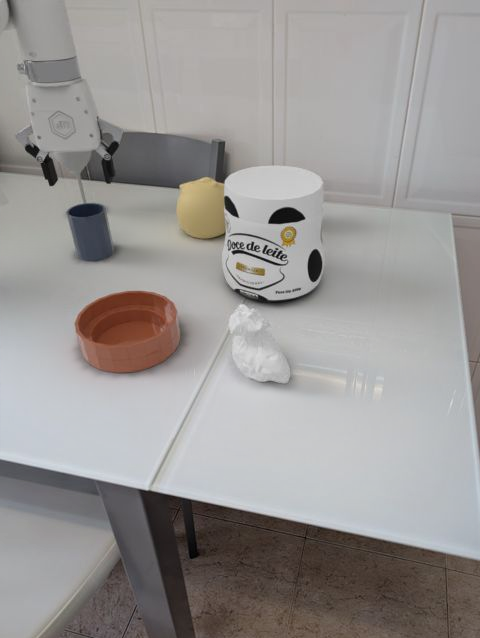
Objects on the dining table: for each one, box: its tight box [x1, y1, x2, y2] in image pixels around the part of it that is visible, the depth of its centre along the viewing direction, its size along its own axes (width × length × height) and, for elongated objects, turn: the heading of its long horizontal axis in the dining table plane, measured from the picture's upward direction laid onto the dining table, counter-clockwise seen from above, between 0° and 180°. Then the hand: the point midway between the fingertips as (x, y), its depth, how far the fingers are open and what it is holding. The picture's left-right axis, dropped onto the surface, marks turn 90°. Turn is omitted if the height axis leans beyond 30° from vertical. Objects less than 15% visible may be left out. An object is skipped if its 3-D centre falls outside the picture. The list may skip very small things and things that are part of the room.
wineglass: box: [52, 150, 93, 204], centre depth 104 cm, size 8×8×21 cm
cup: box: [65, 202, 115, 262], centre depth 92 cm, size 7×7×9 cm
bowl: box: [74, 290, 181, 374], centre depth 71 cm, size 14×14×5 cm
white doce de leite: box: [221, 164, 326, 303], centre depth 81 cm, size 17×17×18 cm
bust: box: [228, 303, 291, 385], centre depth 65 cm, size 12×8×11 cm
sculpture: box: [175, 176, 226, 240], centre depth 100 cm, size 12×12×11 cm
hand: (82, 182), depth 87 cm, fingers open, 9 cm apart
